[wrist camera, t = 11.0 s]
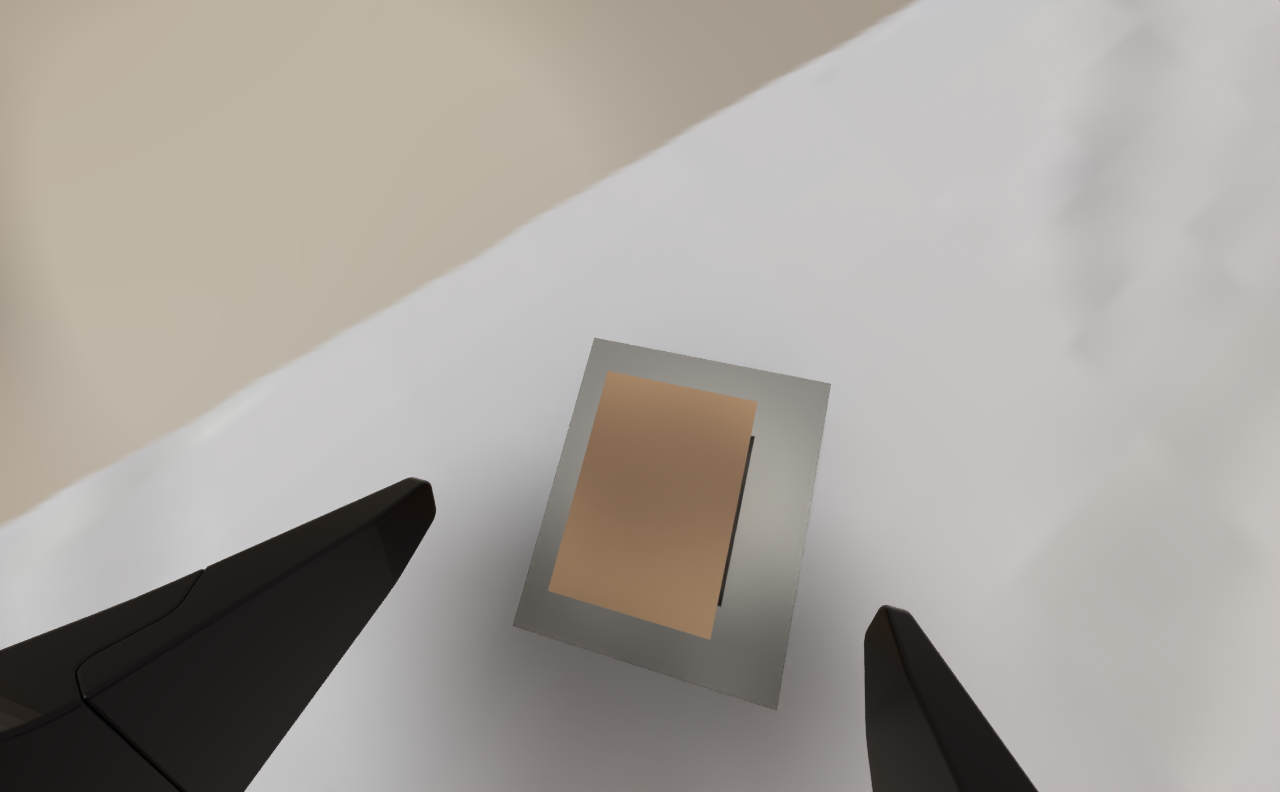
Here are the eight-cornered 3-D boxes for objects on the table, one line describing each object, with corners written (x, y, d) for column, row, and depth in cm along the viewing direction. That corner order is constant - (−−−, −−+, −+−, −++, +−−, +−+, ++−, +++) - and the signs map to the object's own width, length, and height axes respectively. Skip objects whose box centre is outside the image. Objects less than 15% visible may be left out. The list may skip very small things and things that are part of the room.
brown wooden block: (705, 568, 21) (710, 639, 9) (631, 547, 22) (548, 590, 10) (727, 461, 22) (758, 401, 10) (656, 445, 23) (607, 370, 11)
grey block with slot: (762, 672, 20) (776, 710, 16) (546, 605, 22) (512, 625, 18) (808, 405, 22) (830, 383, 19) (611, 365, 24) (594, 337, 20)
